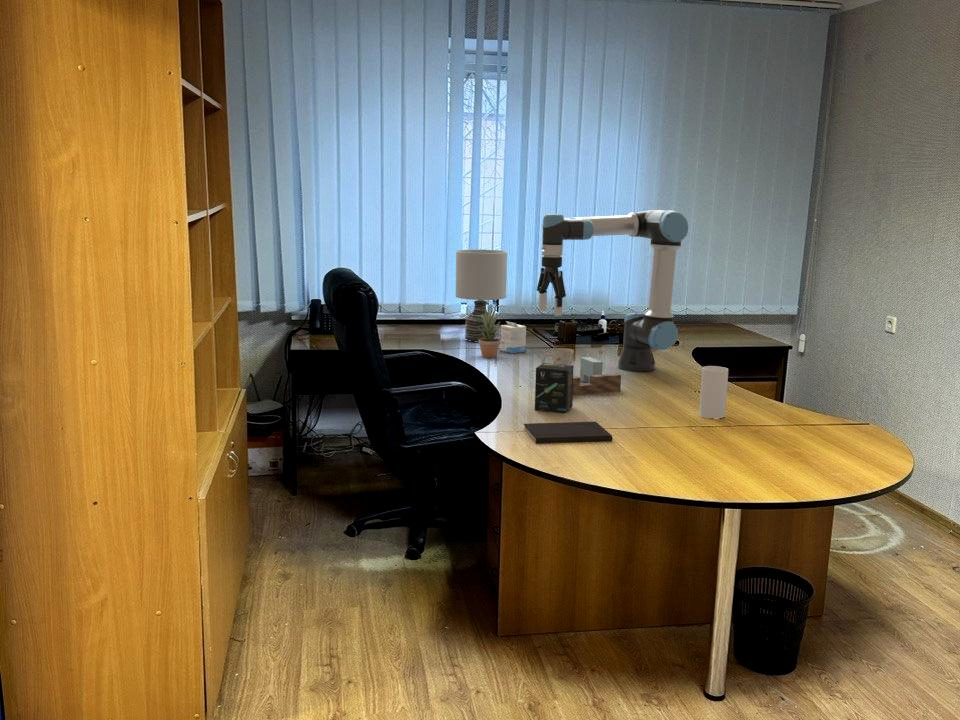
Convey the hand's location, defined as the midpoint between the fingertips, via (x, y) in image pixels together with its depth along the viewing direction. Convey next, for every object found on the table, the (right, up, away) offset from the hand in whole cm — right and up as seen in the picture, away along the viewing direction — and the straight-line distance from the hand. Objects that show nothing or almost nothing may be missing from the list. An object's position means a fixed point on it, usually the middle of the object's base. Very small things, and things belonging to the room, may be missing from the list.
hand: (550, 313), depth 331 cm
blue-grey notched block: (+16, -26, +5) cm, 31 cm away
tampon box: (-2, -34, -35) cm, 49 cm away
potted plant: (-23, -16, +54) cm, 60 cm away
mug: (+4, -24, +19) cm, 30 cm away
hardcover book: (0, -41, -66) cm, 78 cm away
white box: (-11, -14, +66) cm, 69 cm away
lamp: (-26, -8, +93) cm, 97 cm away
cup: (+50, -36, -41) cm, 74 cm away
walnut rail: (+11, -29, -11) cm, 33 cm away
